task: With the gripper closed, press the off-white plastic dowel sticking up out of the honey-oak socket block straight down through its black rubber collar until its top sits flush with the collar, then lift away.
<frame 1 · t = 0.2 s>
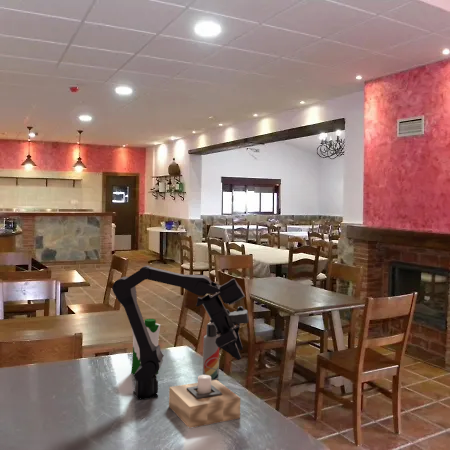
hand: (240, 354, 155), 15 cm above the table, tool tilted 30°, fingers open, 9 cm apart
dowel: (204, 386, 145), point 8 cm above the table, slide at 0.0 cm
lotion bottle: (210, 378, 174), on the table
socket block: (203, 412, 145), on the table
milk carton: (144, 373, 178), on the table
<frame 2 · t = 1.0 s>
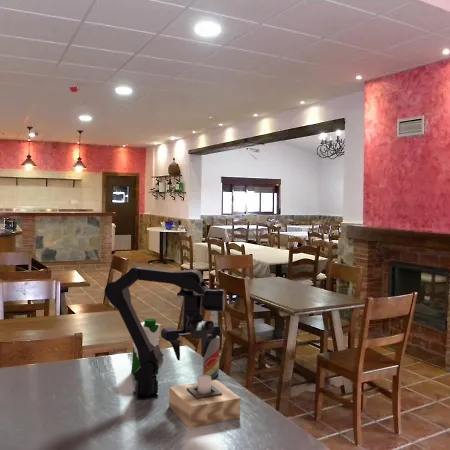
hand: (190, 358, 155), 13 cm above the table, tool pointing down, fingers open, 8 cm apart
nothing on the table moved.
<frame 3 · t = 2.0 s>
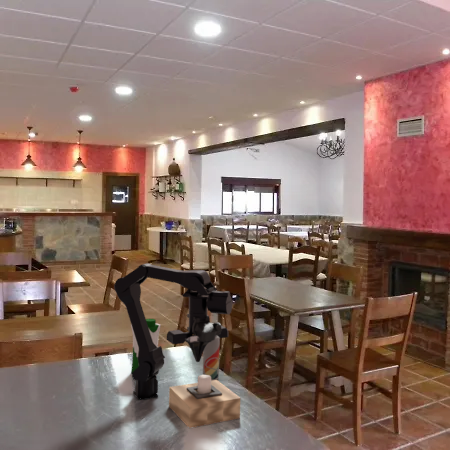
hand: (197, 361, 151), 13 cm above the table, tool pointing down, fingers closed
nothing on the table moved.
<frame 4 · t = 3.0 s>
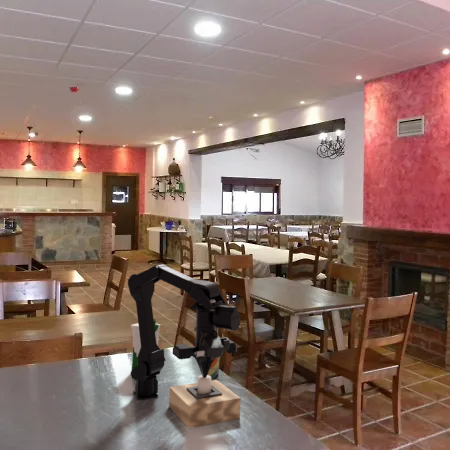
hand: (204, 377, 145), 11 cm above the table, tool pointing down, fingers closed, pressing on dowel
dowel: (204, 386, 145), point 8 cm above the table, slide at 0.0 cm, touching gripper
everything else where it was.
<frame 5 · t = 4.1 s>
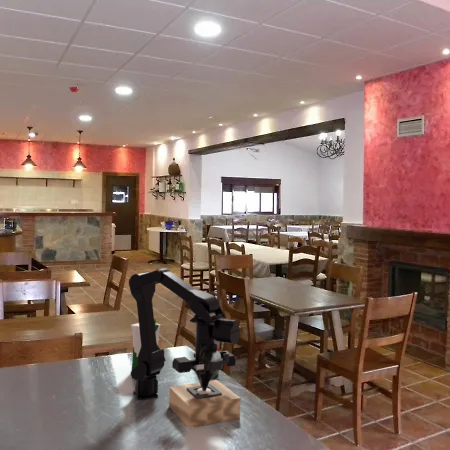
hand: (204, 390, 145), 7 cm above the table, tool pointing down, fingers closed, pressing on dowel
dowel: (203, 399, 145), point 4 cm above the table, slide at 4.0 cm, touching gripper
everything else where it was.
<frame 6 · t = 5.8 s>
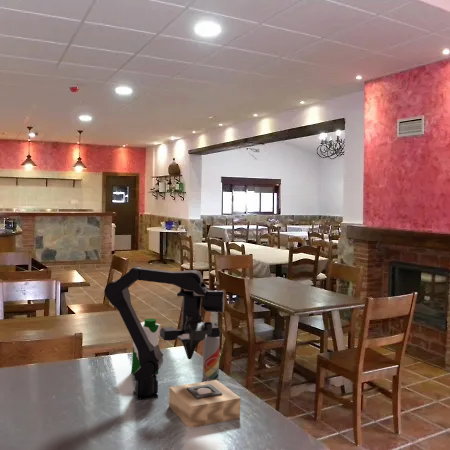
hand: (189, 358, 155), 13 cm above the table, tool pointing down, fingers closed
dowel: (203, 399, 145), point 4 cm above the table, slide at 4.0 cm
everything else where it was.
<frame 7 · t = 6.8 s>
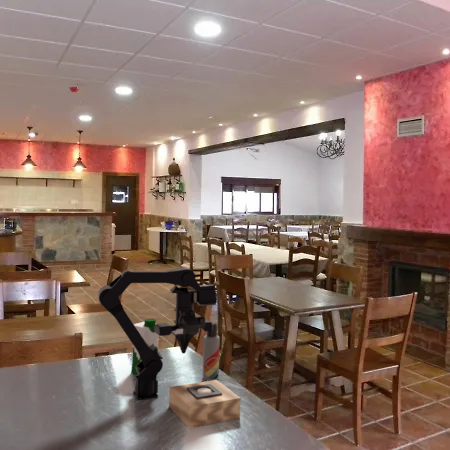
hand: (183, 353, 160), 13 cm above the table, tool pointing down, fingers closed
nothing on the table moved.
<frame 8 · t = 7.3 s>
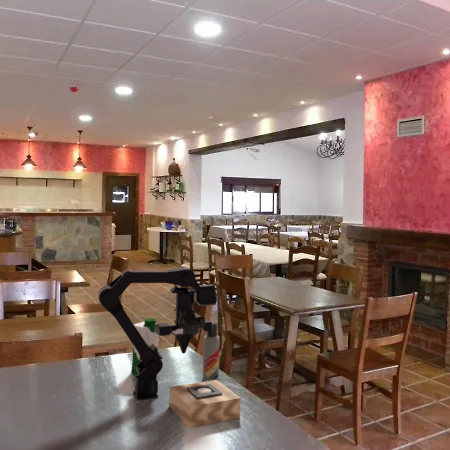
hand: (183, 353, 160), 13 cm above the table, tool pointing down, fingers closed
nothing on the table moved.
at the end: dowel slide at 4.0 cm; the gripper is holding nothing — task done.
